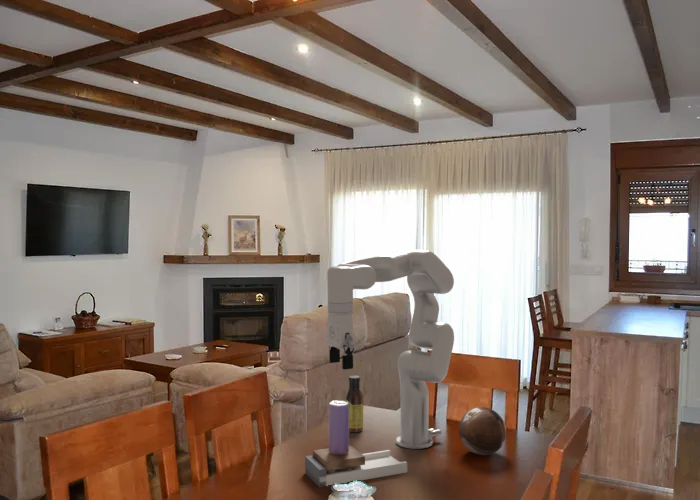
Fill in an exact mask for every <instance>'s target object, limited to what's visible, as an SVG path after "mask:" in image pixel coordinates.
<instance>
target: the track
mask: <svg viewBox="0 0 700 500" xmlns="http://www.w3.org/2000/svg"><path fill="white" fill-rule="evenodd" d="M361 454H362V455H364V456H365V465H360V466H361V469H356V470H352V469H351V468H349V467H348V468H342V469H336V470H335V471H336V473H333V474H326V468H325V467H324V466H323V465H321V464H320V463H319V462H318V461H317V460H316V459H315V458H314V457H313V454H312V455H305V456H304V459H305V460H304V461H305V463H304V465H305V466H304V469H305V471H304V472H305V474H306V476H308V477H309V479H311V481H313V483H315V485H317V487H319V488H320V487H321V488H323V487H322V486H327V487H329V486H328V485H332V484H333V483H344V484H348V483H347V482H349V483H351V482H350V481H352V480H361V481H367V480H371V479H377V478H381V477H382V478H384V477H389V476H393V475H399V474H406V473H408V462H407V461H406V460H405V461H399V460H398V459H396V458H394V457H393V456H391V450H390V449H385V450H380V451H374V452H367V453H361ZM332 486H333V485H332Z"/></svg>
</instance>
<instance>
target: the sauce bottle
mask: <svg viewBox="0 0 700 500" xmlns="http://www.w3.org/2000/svg"><path fill="white" fill-rule="evenodd" d="M348 381H349V384H348V391H347V394H346V397H345V401H347V402H348V405H349V433H360V432H362V431H363V429H364V428H363V427H364V401H363V397H364V395H363V392H362V391H361V389H360V388H361V386H360V381H361V377H360V376H359V375H349V376H348Z"/></svg>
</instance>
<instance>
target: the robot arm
mask: <svg viewBox="0 0 700 500" xmlns="http://www.w3.org/2000/svg"><path fill="white" fill-rule="evenodd" d="M326 274H327V277H326V278H327V280H326V281H327V284H326V285H327V286H326V287H327V320H326V321H327V322H326V343H327V344H328V349H329V350H328V352H329V357H328V358H329V363H330V364H335V363H336V364H337V363H340V362H341V363H342V365H341V369H342V370H351V369H352V370H353V369H354V350H355V340H354V325H353V324H354V323H353V313H354V290H368V289H370V288H372V287H373V286H374V285H375V284H376V283H385V282H392V281H395V280H398V279H402V278H405V277H406V282H407V285H408V288H409V289H410V292H411V293H412V297H413V300H414V309H413V314H412V317H411V323H410V327H409V332H408V342H409V343H410V345H412V346H414V347H417V348H421V349H422V348H423V349H429V350H431V352H427V351H421V350H415V349H414V350H413V349H408V350H405V351H403V352H401V353H400V355H399V356H398V358H397V364H396V365H397V372H398V376H399V385H400V435H399V436H397V437H396V438H395V443H396V445H397V446H399V447H402V448H406V449H412V450H420V449H426V448H429V447H432V446H433V445H434V439H433V437H434V436H436V437H437V436H441V435H442V431H441V429H434V428H429V426H430V425H429V423H430V422H429V406H430V405H429V396H430V394H429V388H428V385H427V383H426V382H428V383H434V384H439V383H441V382H443V381H444V380H445V378H446V376H447V375H448V371H449V369H450V368H449V366H450V363H451V362H450V361H451V357H452V353H453V347H454V342H455V332H454V329H453V327H452V325H450V324H449V323H447V322H445V321H438V318H439V314H440V313H439V312H440V306H439V303H438V300H437V298H436V296H435V294H437V295H438V294H439V295H445V294H448V293H450V292H451V291H452V289H453V287H454V285H455V283H454V282H455V280H454V279H455V278H454V275H453V273H452V271H451V270H450V269H449V268H448V266H446V264H445V263H444V262H443V261H442V260H441V258H439V257H438V256H437V255H436V254H435V253H434V252H432V251H430V250H427V249H402V250H401V251H396V252H392V253H388V254H383V255H378V256H373V257H367V258H360V259H354V260H350V261H346V262H342V263H339V264H338V265H337V266H334V265H333V266H330V267H328V269H327V273H326ZM340 348H341V349H340ZM340 351H342V354H343V355H342V356H341V354H340ZM341 360H342V361H341Z"/></svg>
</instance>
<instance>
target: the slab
mask: <svg viewBox="0 0 700 500" xmlns="http://www.w3.org/2000/svg"><path fill="white" fill-rule="evenodd" d="M362 454H363V453H361V452H360V451H358V450H357V449H355V448H354V447H353V446H352V445H350V444H349V452H348V453H347V454H346V455H344V456H334V455H331V454H330V452H329V447H327V448H320V449H314V450H313V451H312V456H313V457H314V458H315V459H316V460H317V461H318V462H319V463H320V464H321V465H323V466H324V467H325V468H326V474H333V473H336V471H335V470H336V469H342V468H348V467H349V468H351V469H352V470H356V469H361V466H360V465H365V456H364V455H362Z"/></svg>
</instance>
